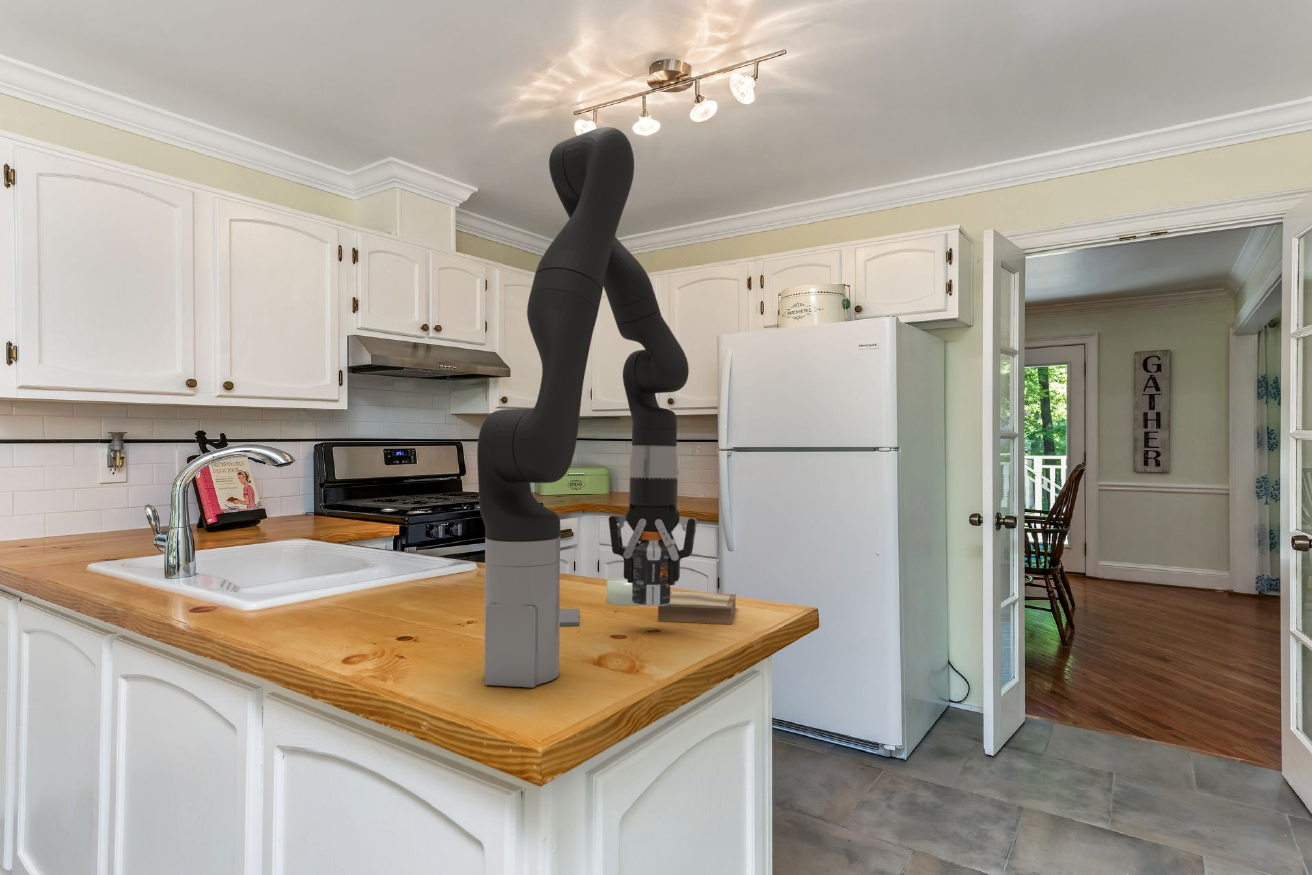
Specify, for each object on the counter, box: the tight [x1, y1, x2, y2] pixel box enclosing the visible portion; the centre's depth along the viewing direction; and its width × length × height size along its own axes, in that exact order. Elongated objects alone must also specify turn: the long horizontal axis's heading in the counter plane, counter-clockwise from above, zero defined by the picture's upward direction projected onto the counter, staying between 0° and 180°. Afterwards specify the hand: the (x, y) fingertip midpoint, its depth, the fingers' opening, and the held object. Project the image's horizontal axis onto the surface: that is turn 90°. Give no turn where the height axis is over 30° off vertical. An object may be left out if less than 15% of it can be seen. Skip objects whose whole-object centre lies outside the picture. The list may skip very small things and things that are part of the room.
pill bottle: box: [632, 531, 671, 607], centre depth 116 cm, size 6×6×11 cm
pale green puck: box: [606, 576, 638, 607], centre depth 138 cm, size 8×8×4 cm
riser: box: [657, 591, 737, 625], centre depth 127 cm, size 12×12×3 cm
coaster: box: [560, 608, 580, 627], centre depth 123 cm, size 10×10×1 cm
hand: (651, 582), depth 116 cm, fingers closed on pill bottle, 6 cm apart
